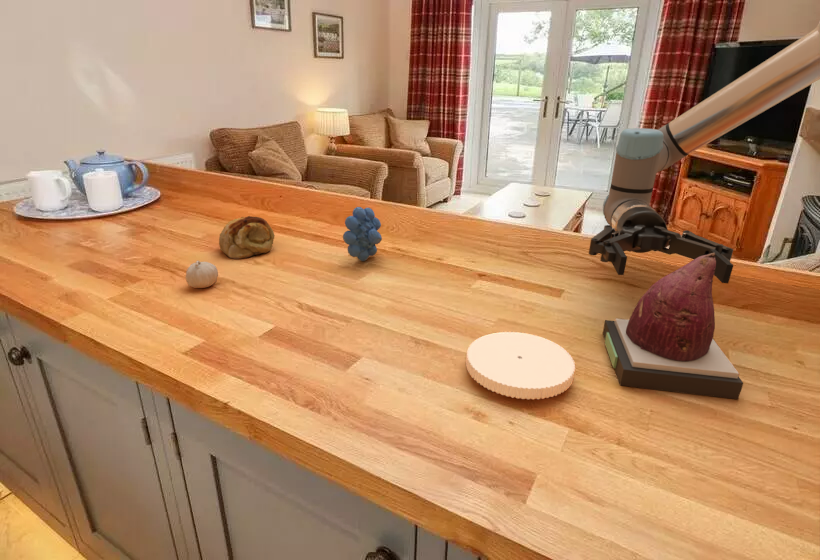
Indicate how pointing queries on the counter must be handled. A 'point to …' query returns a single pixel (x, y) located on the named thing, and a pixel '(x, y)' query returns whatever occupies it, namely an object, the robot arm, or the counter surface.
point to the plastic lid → (520, 365)
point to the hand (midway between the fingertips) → (674, 270)
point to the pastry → (246, 237)
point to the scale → (669, 367)
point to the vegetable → (677, 313)
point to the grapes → (362, 233)
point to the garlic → (201, 274)
